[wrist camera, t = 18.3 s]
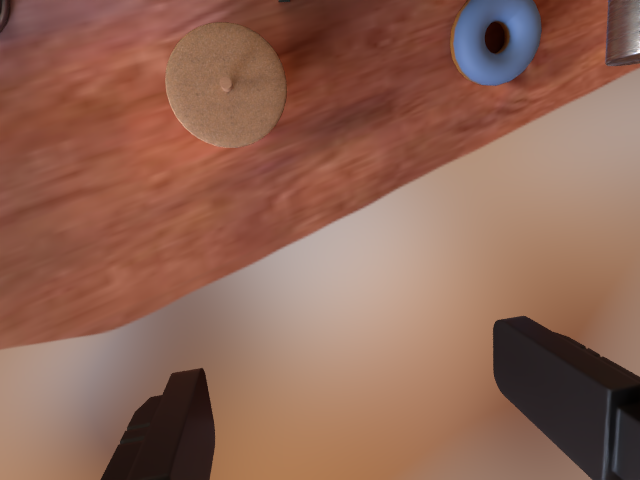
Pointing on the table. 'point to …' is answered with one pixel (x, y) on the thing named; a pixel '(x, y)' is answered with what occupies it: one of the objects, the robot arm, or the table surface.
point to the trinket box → (226, 84)
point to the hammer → (623, 33)
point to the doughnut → (519, 44)
